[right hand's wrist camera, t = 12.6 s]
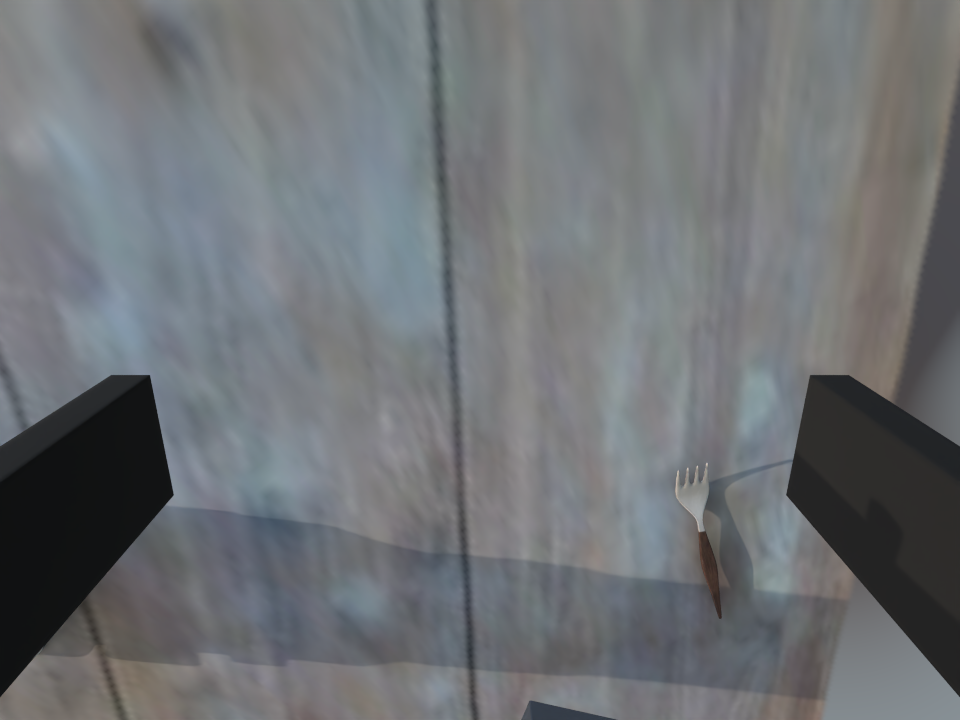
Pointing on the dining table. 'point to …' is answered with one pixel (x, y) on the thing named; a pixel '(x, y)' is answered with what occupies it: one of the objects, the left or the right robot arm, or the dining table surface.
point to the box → (556, 713)
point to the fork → (701, 526)
